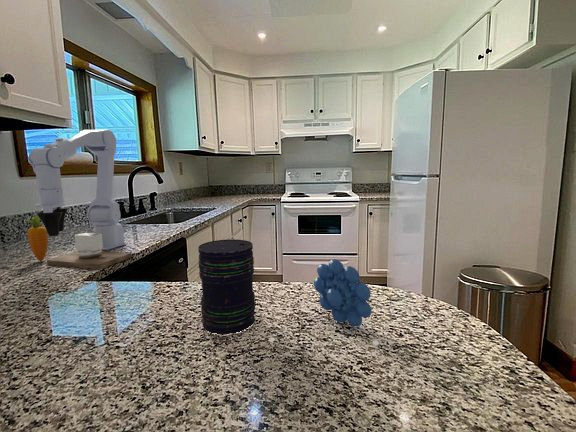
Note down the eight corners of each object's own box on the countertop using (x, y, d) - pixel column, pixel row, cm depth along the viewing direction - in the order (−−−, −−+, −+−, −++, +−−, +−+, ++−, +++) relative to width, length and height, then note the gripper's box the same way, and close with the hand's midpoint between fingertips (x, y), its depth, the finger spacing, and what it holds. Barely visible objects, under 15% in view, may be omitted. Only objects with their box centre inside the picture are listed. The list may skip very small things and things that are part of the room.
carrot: (42, 263, 95) (36, 216, 93) (27, 263, 95) (20, 217, 93) (54, 258, 100) (49, 214, 98) (40, 259, 100) (34, 214, 98)
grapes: (301, 323, 56) (301, 261, 54) (320, 309, 61) (320, 252, 59) (360, 344, 49) (362, 273, 47) (376, 326, 54) (378, 262, 52)
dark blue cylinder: (201, 340, 50) (196, 254, 48) (202, 314, 60) (197, 241, 58) (259, 331, 53) (257, 249, 51) (251, 307, 62) (249, 237, 60)
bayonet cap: (90, 252, 101) (88, 231, 100) (107, 253, 99) (105, 232, 98) (72, 257, 95) (70, 235, 94) (90, 259, 93) (87, 236, 92)
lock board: (85, 253, 106) (84, 249, 106) (131, 257, 101) (131, 252, 101) (47, 264, 94) (46, 259, 93) (98, 269, 88) (97, 263, 88)
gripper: (39, 188, 94) (45, 230, 96) (26, 190, 81) (33, 239, 83) (66, 187, 97) (72, 228, 99) (58, 189, 84) (64, 236, 86)
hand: (56, 233), depth 91 cm, fingers open, 7 cm apart
